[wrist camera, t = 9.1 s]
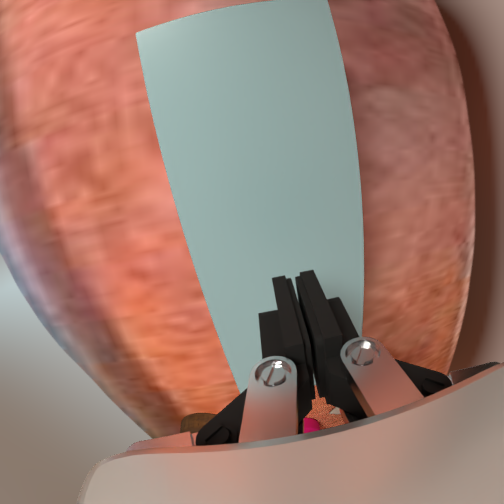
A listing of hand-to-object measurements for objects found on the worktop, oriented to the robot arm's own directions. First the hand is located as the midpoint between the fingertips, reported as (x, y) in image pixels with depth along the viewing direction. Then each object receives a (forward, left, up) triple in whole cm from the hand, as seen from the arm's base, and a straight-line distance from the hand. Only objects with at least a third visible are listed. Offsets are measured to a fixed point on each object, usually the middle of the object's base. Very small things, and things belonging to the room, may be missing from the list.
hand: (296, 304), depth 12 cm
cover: (-1, 0, -5) cm, 5 cm away
